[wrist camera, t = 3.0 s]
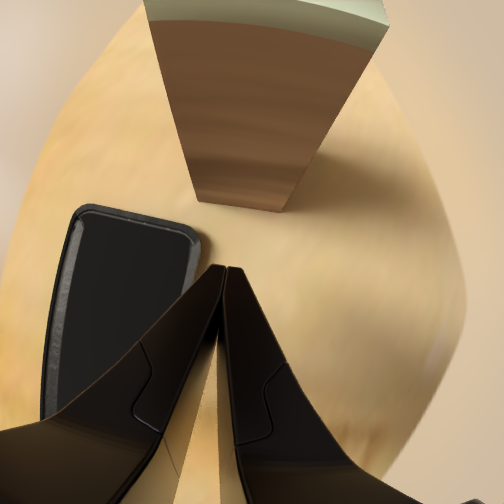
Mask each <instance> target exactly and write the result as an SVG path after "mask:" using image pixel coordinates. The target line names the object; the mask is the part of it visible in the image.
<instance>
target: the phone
mask: <svg viewBox="0 0 504 504" xmlns="http://www.w3.org/2000/svg"><path fill="white" fill-rule="evenodd" d="M201 248H202V246H201V241H200V239H199V237H198V235H197V233H196V232H195V231H194V230H193V229H192V228H191V227H190V226H187V225H185V224H181V223H177V222H172V221H168V220H164V219H159V218H155V217H150V216H146V215H141V214H137V213H133V212H128V211H124V210H119V209H115V208H110V207H106V206H101V205H96V204H85V205H82V206H81V207H79V208H78V209H77V210H76V211H75V212H74V214H73V216H72V218H71V220H70V224H69V227H68V231H67V234H66V238H65V241H64V245H63V249H62V253H61V257H60V261H59V265H58V269H57V274H56V278H55V283H54V288H53V293H52V298H51V304H50V310H49V316H48V322H47V329H46V336H45V344H44V353H43V363H42V376H41V394H40V421H42V420H44V419H47V418H49V417H51V416H53V415H54V414H56V413H57V412H59V411H60V410H62V409H63V408H64V407H65V406H67V405H68V404H69V403H70V402H71V401H73V400H74V399H75V398H76V397H77V396H79V395H80V394H81V393H82V392H83V391H85V390H86V389H87V388H88V387H89V386H91V385H92V384H93V383H94V382H95V381H97V380H98V379H99V378H100V377H101V376H102V375H104V374H105V373H106V372H107V371H108V370H109V369H110V368H111V367H113V366H114V365H115V364H116V363H117V362H118V361H119V360H120V359H121V358H122V357H123V356H124V355H125V354H126V353H127V352H128V351H129V350H130V349H131V348H132V347H133V345H134V344H135V343H136V342H137V341H140V338H141V337H142V336H143V335H144V334H145V333H146V332H147V331H148V330H149V329H150V328H151V326H152V325H153V324H154V323H155V322H156V321H157V320H158V319H159V318H160V317H161V316H162V315H163V314H164V313H165V312H166V311H167V310H168V309H169V308H170V306H171V305H172V304H173V303H174V302H175V301H176V300H177V299H178V298H179V297H180V296H181V295H182V294H183V293H184V292H185V291H186V290H187V289H188V288H189V287H190V286H191V285H192V283H193V282H194V280H195V276H196V272H197V268H198V264H199V260H200V256H201Z"/></svg>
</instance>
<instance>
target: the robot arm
mask: <svg viewBox="0 0 504 504" xmlns="http://www.w3.org/2000/svg"><path fill="white" fill-rule="evenodd" d="M217 336H218V338H217ZM216 342H217V415H218V451H219V478H220V499H221V504H422V503H420V502H418V501H416V500H415V499H413V498H411V497H409V496H407V495H405V494H403V493H402V492H400V491H398V490H396V489H394V488H393V487H391V486H389V485H387V484H386V483H384V482H382V481H381V480H379V479H377V478H375V477H374V476H372V475H371V474H369V473H367V472H366V471H364V470H363V469H361V468H360V467H359V466H357V465H356V464H355V463H354V462H353V461H352V460H351V459H350V458H349V457H348V456H347V455H346V453H345V452H344V451H343V449H342V448H341V447H340V445H339V444H338V442H337V441H336V440H335V438H334V437H333V435H332V434H331V432H330V431H329V430H328V428H327V427H326V425H325V424H324V422H323V421H322V419H321V418H320V417H319V415H318V414H317V412H316V411H315V409H314V408H313V406H312V405H311V403H310V401H309V400H308V398H307V397H306V395H305V394H304V392H303V390H302V388H301V387H300V385H299V383H298V381H297V379H296V377H295V375H294V373H293V371H292V369H291V367H290V365H289V363H287V360H286V358H285V355H284V353H283V351H282V349H281V347H280V345H279V343H278V341H277V339H276V337H275V335H274V333H273V331H272V329H271V327H270V325H269V323H268V321H267V319H266V316H265V314H264V312H263V310H262V308H261V306H260V304H259V302H258V300H257V298H256V296H255V294H254V291H253V289H252V287H251V285H250V283H249V281H248V279H247V277H246V275H245V273H244V271H243V269H242V268H239V267H232V266H228V267H227V269H226V266H224V265H218V264H211V265H210V266H209V267H208V268H207V269H206V270H205V271H204V272H203V273H202V274H201V275H200V276H199V277H198V278H197V279H196V280H195V281H194V282H193V283H192V285H191V286H190V287H189V288H188V289H187V290H186V291H185V292H184V293H183V294H182V295H181V296H180V297H179V298H178V299H177V300H176V301H175V302H174V303H173V304H172V305H171V306H170V308H169V309H168V310H167V311H166V312H165V313H164V314H163V315H162V316H161V317H160V318H159V319H158V320H157V321H156V322H155V323H154V324H153V325H152V326H151V328H150V329H149V330H148V331H147V332H146V333H145V334H144V335H143V336H142V337H141V338H140V341H137V342H136V343H135V344H134V345H133V347H132V348H131V349H130V350H129V351H128V352H127V353H126V354H125V355H124V356H123V357H122V358H121V359H120V360H119V361H118V362H117V363H116V364H115V365H114V366H113V367H111V368H110V369H109V370H108V371H107V372H106V373H105V374H104V375H102V376H101V377H100V378H99V379H98V380H97V381H95V382H94V383H93V384H92V385H91V386H89V387H88V388H87V389H86V390H85V391H83V392H82V393H81V394H80V395H79V396H77V397H76V398H75V399H74V400H73V401H71V402H70V403H69V404H68V405H67V406H65V407H64V408H63V409H62V410H60V411H59V412H57V413H56V414H54V415H53V416H51V417H49V418H47V419H44V420H42V421H39V422H35V423H32V424H28V425H24V426H19V427H15V428H11V429H7V430H2V431H0V504H173V501H174V498H175V494H176V490H177V486H178V482H179V478H180V475H181V471H182V467H183V464H184V460H185V456H186V452H187V449H188V445H189V441H190V438H191V434H192V430H193V427H194V423H195V419H196V415H197V412H198V408H199V405H200V401H201V397H202V394H203V390H204V386H205V383H206V379H207V375H208V372H209V368H210V365H211V361H212V357H213V354H214V350H215V346H216ZM462 504H484V503H483V502H481V501H480V500H478V499H473V500H470V501H467V502H465V503H462Z"/></svg>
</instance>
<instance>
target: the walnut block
mask: <svg viewBox="0 0 504 504" xmlns="http://www.w3.org/2000/svg"><path fill="white" fill-rule="evenodd" d="M143 1H144V6H145V10H146V14H147V18H148V22H149V27H150V31H151V35H152V39H153V43H154V47H155V51H156V55H157V59H158V63H159V66H160V70H161V74H162V78H163V82H164V85H165V89H166V93H167V97H168V100H169V104H170V107H171V111H172V115H173V118H174V122H175V125H176V129H177V132H178V136H179V139H180V143H181V146H182V150H183V153H184V157H185V160H186V163H187V167H188V170H189V174H190V177H191V180H192V184H193V187H194V190H195V193H196V197H197V200H198V201H200V202H208V203H215V204H223V205H230V206H237V207H244V208H251V209H258V210H264V211H271V212H277V213H280V212H281V210H282V209H283V207H284V205H285V204H286V202H287V200H288V198H289V197H290V195H291V193H292V192H293V190H294V188H295V187H296V185H297V183H298V182H299V180H300V178H301V177H302V175H303V173H304V171H305V170H306V168H307V166H308V165H309V163H310V161H311V160H312V158H313V156H314V155H315V153H316V151H317V149H318V148H319V146H320V144H321V143H322V141H323V139H324V138H325V136H326V134H327V133H328V131H329V129H330V127H331V126H332V124H333V122H334V121H335V119H336V117H337V116H338V114H339V112H340V110H341V109H342V107H343V105H344V104H345V102H346V100H347V99H348V97H349V95H350V93H351V92H352V90H353V88H354V87H355V85H356V83H357V82H358V80H359V78H360V76H361V75H362V73H363V71H364V70H365V68H366V66H367V64H368V63H369V61H370V59H371V58H372V56H373V54H374V52H375V51H376V49H377V47H378V46H379V44H380V42H381V41H382V39H383V37H384V35H385V34H386V32H387V30H388V28H389V27H390V26H389V22H388V18H387V15H386V12H385V8H384V5H383V2H382V0H143Z"/></svg>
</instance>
